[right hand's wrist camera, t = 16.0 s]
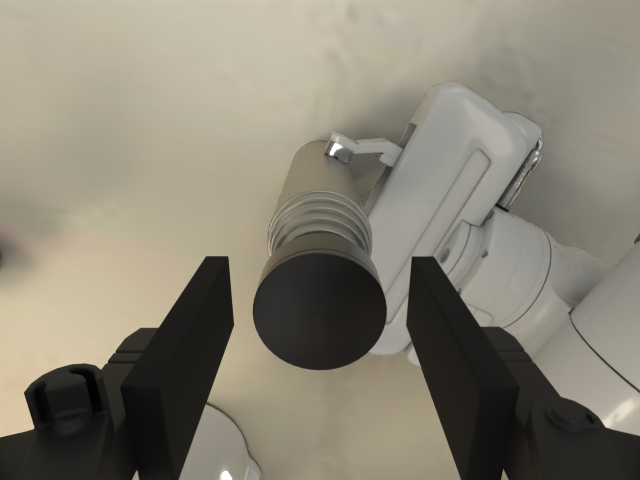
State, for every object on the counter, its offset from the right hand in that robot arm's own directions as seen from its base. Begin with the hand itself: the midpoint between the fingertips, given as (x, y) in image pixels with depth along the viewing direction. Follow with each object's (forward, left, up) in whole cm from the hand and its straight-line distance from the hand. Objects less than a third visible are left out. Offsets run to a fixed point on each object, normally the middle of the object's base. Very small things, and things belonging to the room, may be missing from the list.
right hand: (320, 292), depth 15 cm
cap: (0, 0, +1) cm, 1 cm away
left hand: (-1, +1, -16) cm, 16 cm away
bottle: (0, 0, -22) cm, 22 cm away
